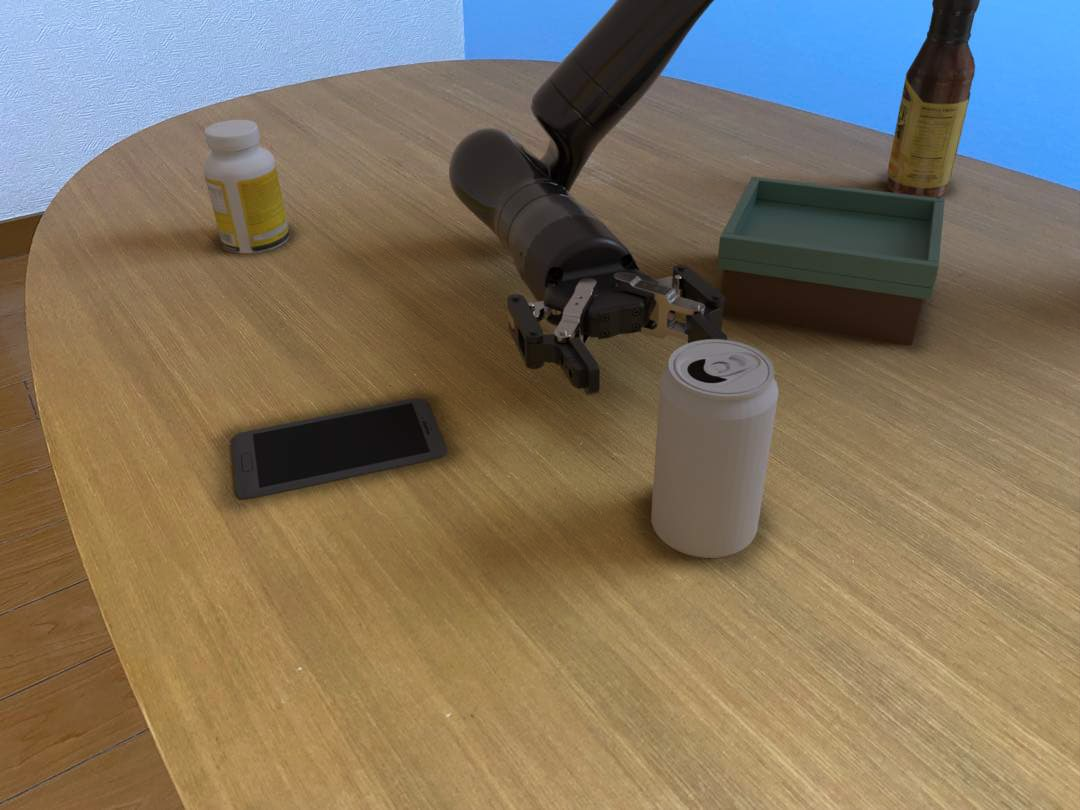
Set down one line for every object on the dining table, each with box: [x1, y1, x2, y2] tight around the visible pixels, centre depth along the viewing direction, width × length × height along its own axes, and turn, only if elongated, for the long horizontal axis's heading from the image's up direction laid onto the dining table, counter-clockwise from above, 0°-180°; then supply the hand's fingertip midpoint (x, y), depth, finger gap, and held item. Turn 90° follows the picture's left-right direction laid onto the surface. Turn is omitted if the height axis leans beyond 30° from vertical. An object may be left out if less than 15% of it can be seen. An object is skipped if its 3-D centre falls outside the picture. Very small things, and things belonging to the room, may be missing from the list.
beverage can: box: [650, 339, 780, 559], centre depth 54 cm, size 6×6×12 cm
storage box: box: [716, 176, 946, 346], centre depth 77 cm, size 16×13×8 cm
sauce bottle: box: [886, 0, 981, 198], centre depth 93 cm, size 7×6×20 cm
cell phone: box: [230, 397, 448, 501], centre depth 64 cm, size 7×14×1 cm, turn 108°
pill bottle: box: [202, 119, 290, 254], centre depth 88 cm, size 6×6×12 cm
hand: (658, 368), depth 59 cm, fingers open, 8 cm apart
